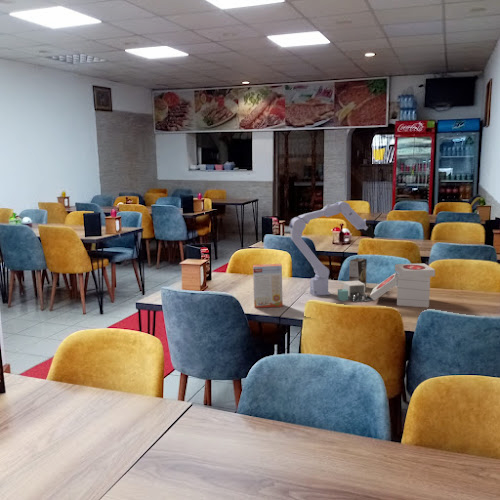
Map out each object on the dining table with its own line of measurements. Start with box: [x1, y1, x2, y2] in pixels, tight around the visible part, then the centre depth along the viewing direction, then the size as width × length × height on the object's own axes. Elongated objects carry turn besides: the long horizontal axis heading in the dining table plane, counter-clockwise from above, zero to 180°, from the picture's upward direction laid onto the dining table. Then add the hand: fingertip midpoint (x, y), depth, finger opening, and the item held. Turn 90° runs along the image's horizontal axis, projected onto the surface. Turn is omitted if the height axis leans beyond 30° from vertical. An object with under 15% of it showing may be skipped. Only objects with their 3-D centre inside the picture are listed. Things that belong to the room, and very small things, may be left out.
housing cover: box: [342, 280, 366, 297], centre depth 273 cm, size 9×8×6 cm
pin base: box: [348, 292, 374, 303], centre depth 270 cm, size 10×17×2 cm, turn 12°
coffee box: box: [348, 257, 368, 288], centre depth 286 cm, size 9×6×16 cm
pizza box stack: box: [369, 263, 436, 308], centre depth 258 cm, size 19×30×18 cm, turn 70°
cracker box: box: [252, 263, 284, 309], centre depth 256 cm, size 14×6×21 cm, turn 92°
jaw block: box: [337, 288, 349, 302], centre depth 266 cm, size 4×4×5 cm
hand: (371, 236), depth 276 cm, fingers open, 7 cm apart
